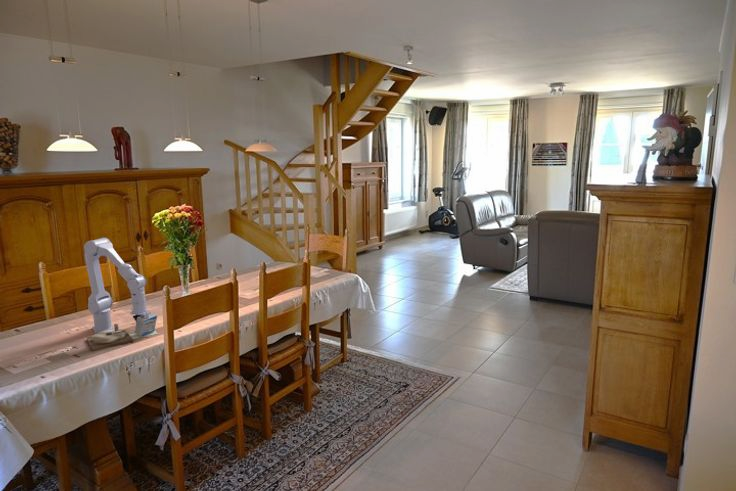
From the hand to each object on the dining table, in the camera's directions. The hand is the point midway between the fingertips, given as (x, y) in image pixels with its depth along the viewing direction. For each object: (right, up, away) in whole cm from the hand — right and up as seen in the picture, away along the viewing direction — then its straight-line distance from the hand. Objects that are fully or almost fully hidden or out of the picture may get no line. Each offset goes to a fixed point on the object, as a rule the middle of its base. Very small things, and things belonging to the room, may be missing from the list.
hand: (141, 329), depth 231 cm
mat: (+2, -2, -2) cm, 3 cm away
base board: (-10, -3, -10) cm, 14 cm away
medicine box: (+2, -1, -2) cm, 3 cm away
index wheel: (-10, -2, -10) cm, 14 cm away
